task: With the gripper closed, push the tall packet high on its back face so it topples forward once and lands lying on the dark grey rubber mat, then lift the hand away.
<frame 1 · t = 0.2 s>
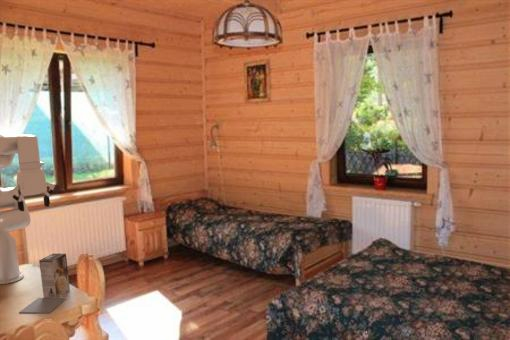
hand: (34, 208, 181), 37 cm above the table, tool pointing down, fingers open, 9 cm apart
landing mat: (43, 305, 176), on the table
coffee box: (56, 294, 187), on the table
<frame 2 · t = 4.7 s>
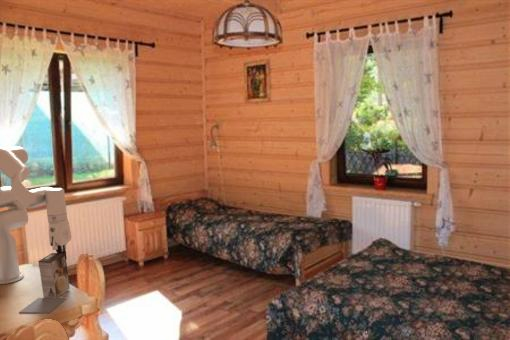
hand: (62, 259, 191), 13 cm above the table, tool pointing down, fingers closed
coffee box: (56, 293, 187), on the table, touching gripper
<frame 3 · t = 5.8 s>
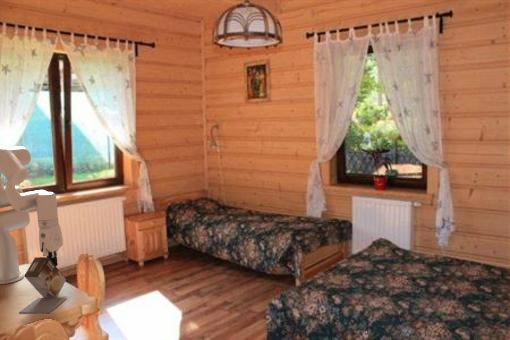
hand: (53, 266, 185), 12 cm above the table, tool pointing down, fingers closed
coffee box: (55, 289, 186), point 2 cm above the table
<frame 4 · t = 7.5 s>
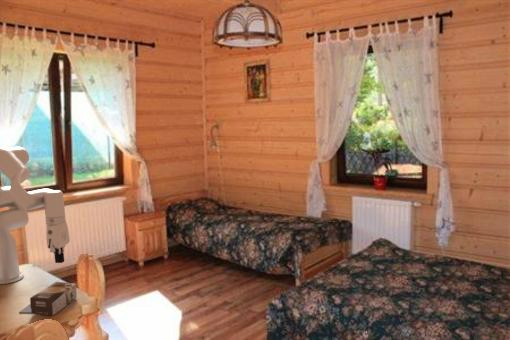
hand: (59, 262, 190), 12 cm above the table, tool pointing down, fingers closed
coffee box: (66, 289, 182), point 4 cm above the table, touching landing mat
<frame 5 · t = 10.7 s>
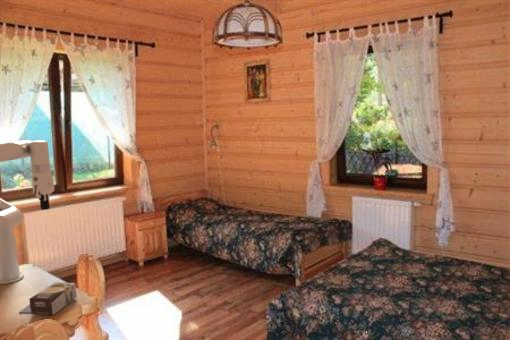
hand: (45, 209, 202), 32 cm above the table, tool pointing down, fingers closed
nothing on the table moved.
at the end: coffee box tilted 90°; coffee box touching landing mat; coffee box inside the target area (6.4 cm from its centre), point 3.7 cm above the table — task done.
